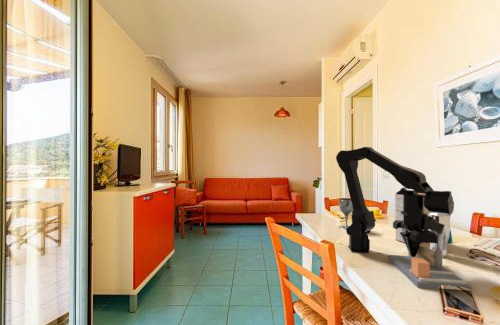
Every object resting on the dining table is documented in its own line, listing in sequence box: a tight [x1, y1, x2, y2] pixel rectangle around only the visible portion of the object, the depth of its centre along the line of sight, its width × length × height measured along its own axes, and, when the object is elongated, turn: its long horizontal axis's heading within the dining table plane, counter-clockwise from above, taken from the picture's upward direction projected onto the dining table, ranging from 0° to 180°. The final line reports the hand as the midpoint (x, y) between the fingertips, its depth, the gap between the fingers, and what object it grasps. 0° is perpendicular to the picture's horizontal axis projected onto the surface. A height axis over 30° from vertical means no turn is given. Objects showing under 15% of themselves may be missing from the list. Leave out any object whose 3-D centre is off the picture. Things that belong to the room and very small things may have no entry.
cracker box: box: [394, 192, 431, 244], centre depth 112 cm, size 14×6×21 cm, turn 102°
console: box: [388, 250, 472, 291], centre depth 79 cm, size 13×21×7 cm, turn 171°
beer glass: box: [428, 212, 451, 258], centre depth 95 cm, size 7×7×15 cm
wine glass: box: [338, 197, 353, 230], centre depth 135 cm, size 8×8×15 cm
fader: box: [411, 258, 430, 278], centre depth 73 cm, size 3×4×4 cm
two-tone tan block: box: [408, 245, 436, 266], centre depth 85 cm, size 10×1×4 cm, turn 14°
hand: (413, 256), depth 85 cm, fingers closed
